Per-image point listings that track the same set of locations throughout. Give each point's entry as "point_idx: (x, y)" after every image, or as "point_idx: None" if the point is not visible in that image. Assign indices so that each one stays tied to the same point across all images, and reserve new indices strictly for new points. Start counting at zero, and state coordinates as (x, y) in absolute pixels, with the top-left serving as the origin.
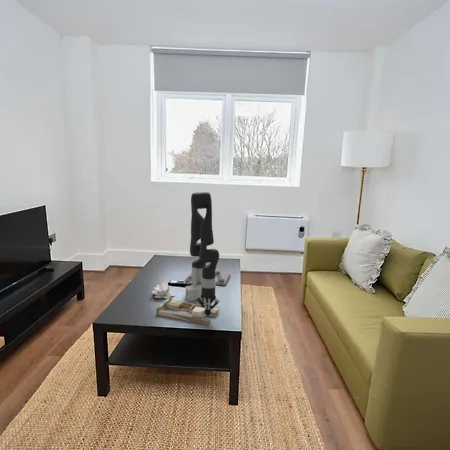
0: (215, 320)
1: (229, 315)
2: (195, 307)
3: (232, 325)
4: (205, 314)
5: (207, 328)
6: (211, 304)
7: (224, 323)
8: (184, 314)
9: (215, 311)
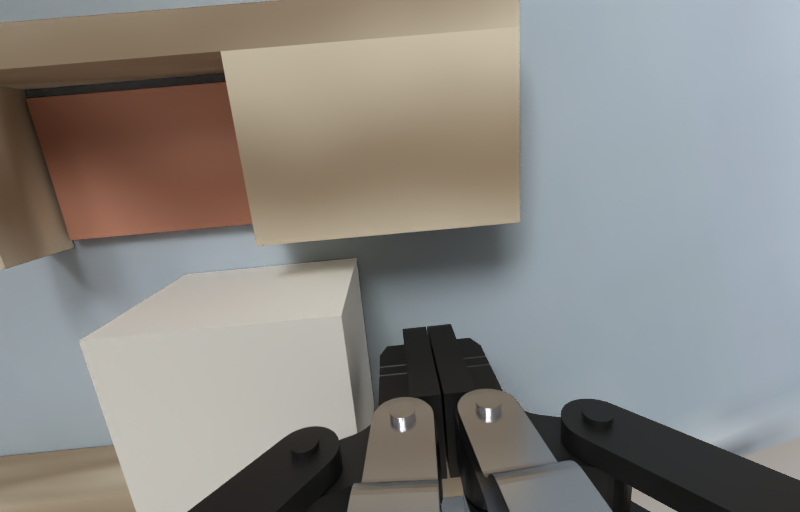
0: (537, 304)
1: (711, 48)
2: (106, 394)
3: (796, 324)
4: (355, 292)
5: None
6: (557, 464)
7: (681, 323)
8: (74, 501)
9: (507, 171)
